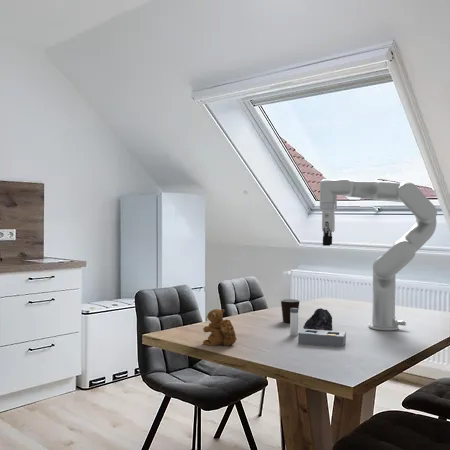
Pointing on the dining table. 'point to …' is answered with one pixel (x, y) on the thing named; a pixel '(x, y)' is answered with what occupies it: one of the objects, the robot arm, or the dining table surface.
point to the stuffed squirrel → (219, 329)
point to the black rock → (319, 321)
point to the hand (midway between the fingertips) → (327, 245)
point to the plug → (294, 321)
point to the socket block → (322, 337)
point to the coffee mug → (288, 308)
